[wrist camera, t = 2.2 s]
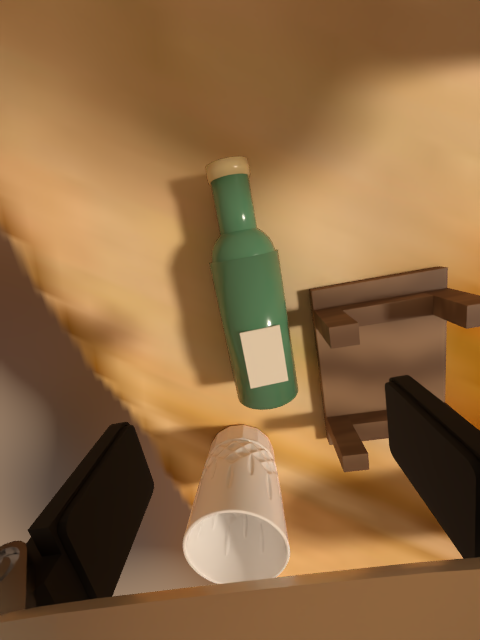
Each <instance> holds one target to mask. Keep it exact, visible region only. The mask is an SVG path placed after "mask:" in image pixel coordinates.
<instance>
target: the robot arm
mask: <svg viewBox="0 0 480 640" xmlns="http://www.w3.org/2000/svg"><path fill="white" fill-rule="evenodd" d="M385 397H386V410H387V422H388V435H389V446H390V451H391V453H392V455H393V457H394V459H395V460H396V462H397V463H398V465H399V466H400V468H401V469H402V470H403V472H404V473H405V475H406V476H407V478H408V479H409V480H410V482H411V483H412V485H413V486H414V488H415V489H416V491H417V492H418V493H419V495H420V496H421V498H422V499H423V501H424V502H425V503H426V505H427V506H428V508H429V509H430V511H431V512H432V514H433V515H434V516H435V518H436V519H437V521H438V522H439V524H440V525H441V527H442V528H443V529H444V531H445V532H446V534H447V535H448V537H449V538H450V539H451V541H452V542H453V544H454V545H455V547H456V548H457V550H458V551H459V552H460V554H461V555H462V557H463V558H464V559H454V560H442V561H430V562H419V563H408V564H399V565H389V566H380V567H370V568H361V569H351V570H342V571H332V572H323V573H313V574H304V575H295V576H286V577H277V578H268V579H259V580H250V581H241V582H233V583H224V584H215V585H206V586H198V587H190V588H180V589H172V590H163V591H155V592H147V593H138V594H130V595H122V596H114V597H112V595H113V593H114V590H115V588H116V585H117V583H118V580H119V578H120V575H121V572H122V570H123V567H124V565H125V562H126V560H127V557H128V555H129V552H130V549H131V547H132V544H133V542H134V539H135V537H136V534H137V531H138V529H139V527H140V524H141V521H142V519H143V516H144V514H145V511H146V509H147V506H148V503H149V501H150V498H151V496H152V493H153V489H154V482H153V479H152V476H151V473H150V470H149V468H148V465H147V462H146V459H145V456H144V453H143V451H142V448H141V445H140V442H139V439H138V437H137V434H136V431H135V428H134V426H133V425H130V424H129V423H128V422H123V423H117V424H112V425H110V426H109V427H108V429H107V430H106V431H105V432H104V434H103V435H102V436H101V437H100V439H99V440H98V441H97V443H96V444H95V445H94V446H93V448H92V449H91V450H90V451H89V453H88V454H87V455H86V457H85V458H84V459H83V460H82V462H81V463H80V464H79V465H78V467H77V468H76V469H75V471H74V472H73V473H72V474H71V476H70V477H69V478H68V479H67V481H66V482H65V483H64V485H63V486H62V487H61V488H60V490H59V491H58V492H57V494H56V495H55V496H54V497H53V499H52V500H51V501H50V502H49V504H48V505H47V506H46V507H45V509H44V510H43V512H42V513H41V514H40V516H39V517H38V518H37V519H36V520H35V522H34V523H33V524H32V525H31V527H30V528H29V529H28V532H29V533H30V535H31V538H30V539H29V541H28V542H27V543H24V542H22V541H13V542H10V543H7V544H4V545H2V546H1V547H0V640H480V431H479V430H478V429H477V428H476V427H474V426H473V425H472V424H471V423H469V422H468V421H467V420H465V419H464V418H463V417H462V416H460V415H459V414H458V413H457V412H455V411H454V410H453V409H451V408H450V407H449V406H448V405H446V404H445V403H444V402H443V401H441V400H440V399H439V398H437V397H436V396H435V395H434V394H432V393H431V392H430V391H429V390H427V389H426V388H425V387H423V386H422V385H421V384H420V383H418V382H417V381H416V380H415V379H413V378H412V377H411V376H409V375H403V376H397V377H391V378H390V379H389V382H387V383H385Z"/></svg>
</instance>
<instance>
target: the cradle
mask: <svg viewBox="0 0 480 640" xmlns="http://www.w3.org/2000/svg"><path fill="white" fill-rule="evenodd" d="M447 271H448V268H447V267H440V266H439V267H434V268H428V269H422V270H417V271H411V272H405V273H399V274H394V275H388V276H382V277H376V278H371V279H365V280H359V281H354V282H348V283H342V284H336V285H331V286H325V287H319V288H314V289H309V291H310V300H311V308H312V316H313V325H314V333H315V341H316V350H317V358H318V366H319V375H320V383H321V391H322V400H323V408H324V416H325V425H326V433H327V439H328V442H329V444H330V445H334V448H335V450H336V453H337V455H338V458H339V460H340V463H341V466H342V468H343V471H344V472H350V471H359V470H369V460H368V452H367V451H366V449H365V447H364V445H363V443H362V441H368V440H376V439H385V438H389V435H388V422H387V410H386V397H385V383H387V382H389V379H390V378H391V377H397V376H403V375H409V376H411V377H412V378H413V379H415V380H416V381H417V382H418V383H420V384H421V385H422V386H423V387H425V388H426V389H427V390H429V391H430V392H431V393H432V394H434V395H435V396H436V397H437V398H439V399H440V400H441V401H443V402H444V403H445V374H446V323H447V321H449V322H452V323H454V324H457V325H459V326H461V327H464V328H473V327H479V326H480V296H479V295H475V294H470V293H466V292H462V291H458V290H454V289H449V288H447ZM445 404H446V403H445ZM446 405H448V404H446ZM448 406H449V405H448ZM449 407H450V406H449ZM450 408H451V407H450ZM451 409H452V408H451ZM454 411H455V410H454ZM455 412H456V411H455ZM460 416H461V415H460Z"/></svg>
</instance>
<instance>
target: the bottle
mask: <svg viewBox="0 0 480 640" xmlns="http://www.w3.org/2000/svg"><path fill="white" fill-rule="evenodd" d="M205 170H206V175H207V180H208V184H209V185H211V189H212V194H213V199H214V204H215V209H216V214H217V219H218V224H219V229H220V234H221V235H220V236H219V238H218V239H217V241H216V242H215V244H214V247H213V250H212V262H210V263H209V265H210V269H211V274H212V278H213V283H214V288H215V292H216V297H217V302H218V306H219V311H220V315H221V320H222V325H223V329H224V334H225V339H226V343H227V348H228V353H229V357H230V362H231V366H232V371H233V376H234V380H235V385H236V390H237V394H238V399H239V401H240V402H241V403H242V404H243V405H244V406H246V407H249V408H252V409H260V410H263V409H273V408H277V407H280V406H283V405H285V404H287V403H289V402H290V401H291V400H293V399H294V398H295V396H296V395H297V393H298V385H297V378H296V371H295V364H294V357H293V351H292V344H291V337H290V330H289V323H288V316H287V310H286V303H285V296H284V289H283V282H282V275H281V268H280V262H279V255H278V250H275V248H274V246H273V243H272V241H271V240H270V238H269V237H268V236H267V235H266V234H265V233H264V232H263V231H262V230H260V229H258V228H257V225H256V219H255V213H254V207H253V201H252V195H251V189H250V183H249V177H250V169H249V163H248V159H247V158H246V157H241V156H236V157H227V158H223V159H219V160H216V161H214V162H212V163H210V164H208V165H207V166H206V167H205Z"/></svg>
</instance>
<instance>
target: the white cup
mask: <svg viewBox="0 0 480 640" xmlns="http://www.w3.org/2000/svg"><path fill="white" fill-rule="evenodd" d="M183 552H184V555H185V558H186V560H187V562H188V563H189V565H190V566H191V567H192V569H194V570H195V571H196V572H197V573H198V574H199V575H200V576H202V577H203V578H205V579H207V580H209V581H211V582H213V583H216V584H224V583H233V582H241V581H250V580H259V579H268V578H276V577H277V576H278V575H279V574H280V573H281V572H282V571H283V570H284V569H285V567H286V565H287V563H288V561H289V557H290V547H289V540H288V534H287V528H286V521H285V515H284V508H283V501H282V495H281V489H280V484H279V478H278V472H277V468H276V464H275V458H274V451H273V447H272V445H271V443H270V441H269V438H268V437H267V436H266V435H265V434H264V433H262V432H261V431H260V430H259V429H257V428H254V427H250V426H247V425H236V426H229V427H227V428H226V429H224V430H222V431H221V432H219V433H218V434H217V436H216V437H215V439H214V440H213V442H212V444H211V447H210V451H209V455H208V458H207V461H206V463H205V466H204V469H203V473H202V476H201V479H200V482H199V485H198V489H197V493H196V496H195V500H194V503H193V507H192V511H191V514H190V518H189V521H188V525H187V529H186V532H185V535H184V539H183Z"/></svg>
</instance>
